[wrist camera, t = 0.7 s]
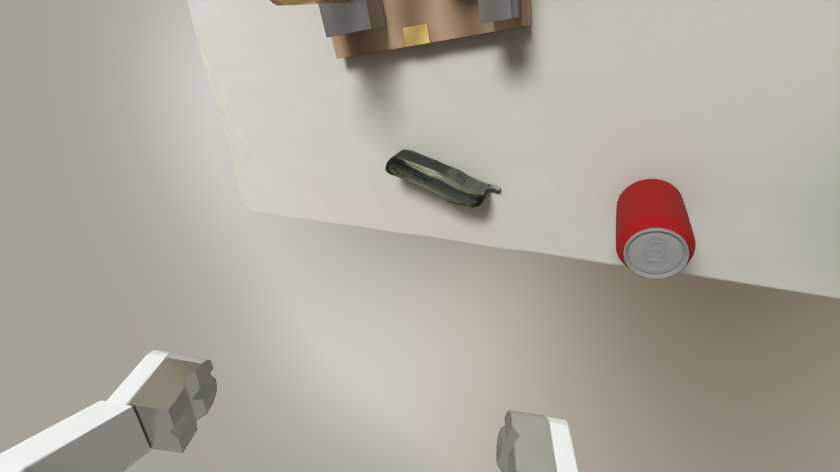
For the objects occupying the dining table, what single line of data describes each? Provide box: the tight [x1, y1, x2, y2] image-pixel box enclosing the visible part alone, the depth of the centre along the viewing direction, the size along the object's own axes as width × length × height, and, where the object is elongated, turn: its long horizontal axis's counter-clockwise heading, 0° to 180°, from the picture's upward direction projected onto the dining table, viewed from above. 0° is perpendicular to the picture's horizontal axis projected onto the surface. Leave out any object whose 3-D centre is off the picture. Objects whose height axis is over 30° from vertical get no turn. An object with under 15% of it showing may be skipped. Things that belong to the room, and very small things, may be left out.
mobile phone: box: [386, 150, 501, 207], centre depth 55 cm, size 5×3×15 cm
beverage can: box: [616, 179, 695, 279], centre depth 44 cm, size 7×7×12 cm
